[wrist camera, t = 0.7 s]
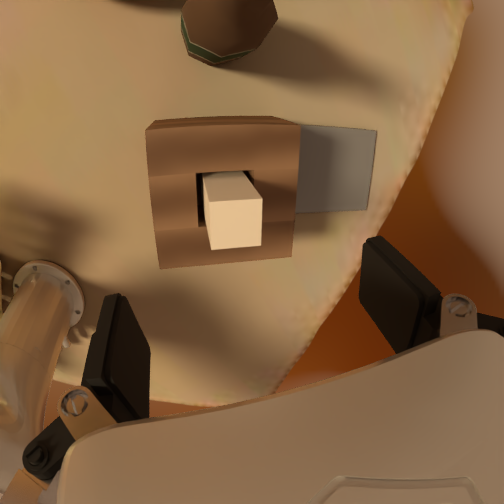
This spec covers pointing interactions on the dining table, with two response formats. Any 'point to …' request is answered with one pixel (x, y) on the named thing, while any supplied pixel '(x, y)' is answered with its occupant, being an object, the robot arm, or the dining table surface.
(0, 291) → the slatted curved stool
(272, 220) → the wooden square ring
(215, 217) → the square peg
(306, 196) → the rubber mat
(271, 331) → the dining table surface
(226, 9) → the beer bottle
